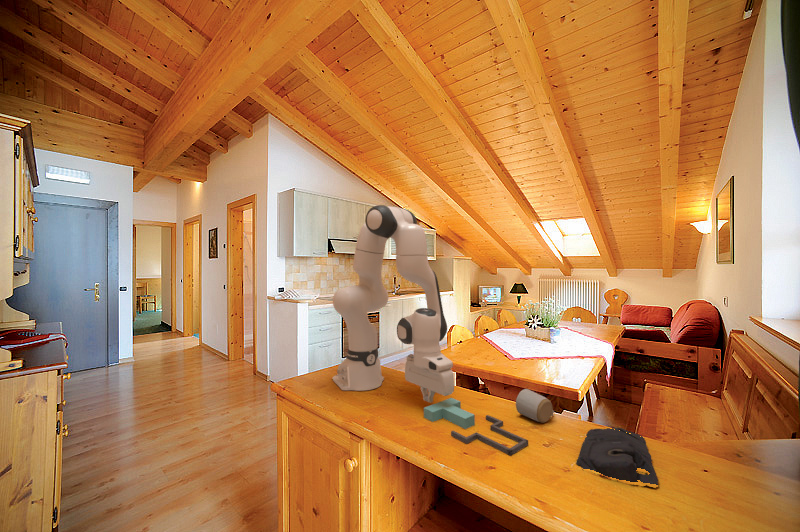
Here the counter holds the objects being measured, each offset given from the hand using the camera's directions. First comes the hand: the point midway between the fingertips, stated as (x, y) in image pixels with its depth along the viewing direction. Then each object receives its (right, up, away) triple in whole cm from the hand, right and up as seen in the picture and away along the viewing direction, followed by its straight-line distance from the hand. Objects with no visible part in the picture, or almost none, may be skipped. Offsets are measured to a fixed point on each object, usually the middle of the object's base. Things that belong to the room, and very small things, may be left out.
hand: (428, 401), depth 111 cm
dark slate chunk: (+42, -2, -30) cm, 52 cm away
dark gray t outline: (+15, -2, -20) cm, 25 cm away
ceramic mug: (+32, -2, -9) cm, 33 cm away
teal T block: (+7, -2, -9) cm, 12 cm away
